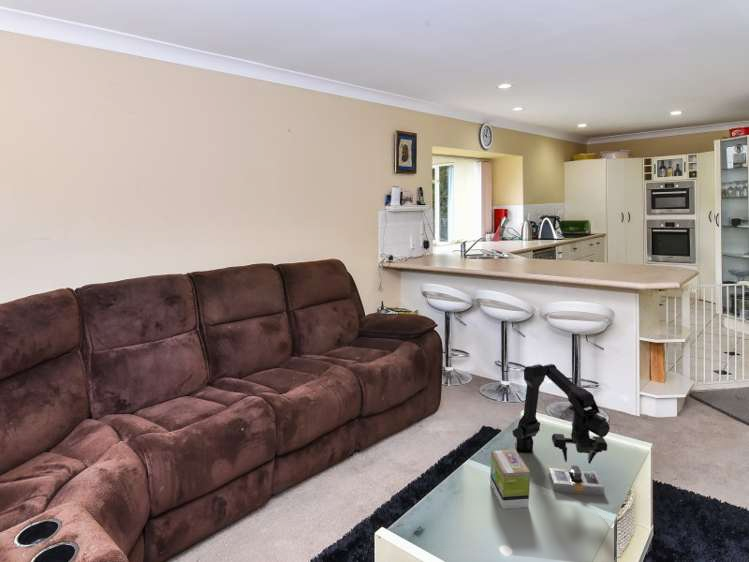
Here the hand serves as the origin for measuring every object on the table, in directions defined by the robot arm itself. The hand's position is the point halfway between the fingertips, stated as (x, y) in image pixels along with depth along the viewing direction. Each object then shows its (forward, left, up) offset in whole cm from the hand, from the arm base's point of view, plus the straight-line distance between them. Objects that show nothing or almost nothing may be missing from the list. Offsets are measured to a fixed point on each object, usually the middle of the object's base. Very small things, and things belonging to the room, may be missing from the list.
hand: (577, 462), depth 191 cm
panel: (0, 0, -9) cm, 9 cm away
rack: (0, 0, -10) cm, 10 cm away
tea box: (-26, -10, -10) cm, 30 cm away
